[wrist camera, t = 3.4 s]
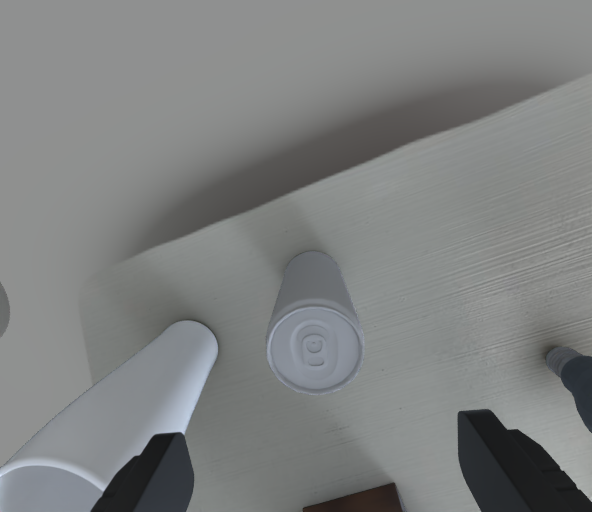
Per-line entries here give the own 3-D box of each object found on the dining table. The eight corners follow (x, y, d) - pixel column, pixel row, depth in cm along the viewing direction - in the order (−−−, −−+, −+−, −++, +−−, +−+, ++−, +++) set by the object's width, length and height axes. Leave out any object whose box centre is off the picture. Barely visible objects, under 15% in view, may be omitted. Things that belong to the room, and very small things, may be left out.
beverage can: (338, 246, 25) (363, 298, 13) (343, 300, 26) (371, 394, 14) (281, 252, 25) (255, 308, 13) (288, 306, 26) (270, 401, 14)
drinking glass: (216, 303, 26) (97, 447, 12) (236, 370, 28) (152, 574, 13) (145, 317, 27) (-52, 471, 12) (168, 382, 28) (16, 589, 14)
